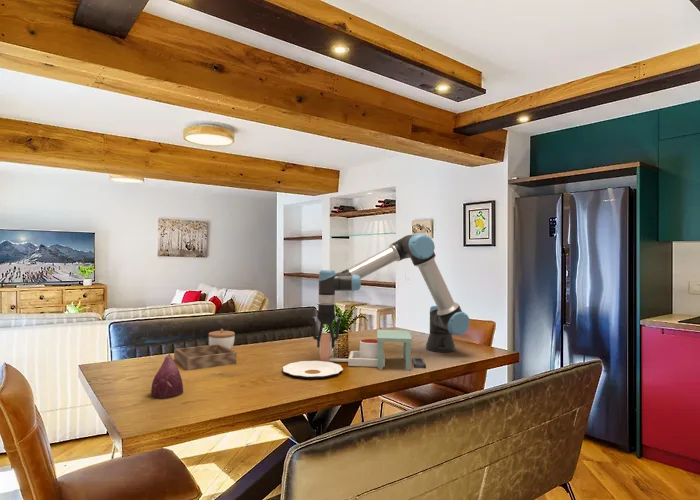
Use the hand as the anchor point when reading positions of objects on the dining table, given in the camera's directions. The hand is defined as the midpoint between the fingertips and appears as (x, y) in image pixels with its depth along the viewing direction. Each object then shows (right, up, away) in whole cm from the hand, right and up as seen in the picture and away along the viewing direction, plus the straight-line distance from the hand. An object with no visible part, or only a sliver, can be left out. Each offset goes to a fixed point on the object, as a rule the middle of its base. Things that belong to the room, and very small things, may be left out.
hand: (325, 354), depth 209 cm
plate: (-5, -4, -18) cm, 19 cm away
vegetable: (-53, -2, -51) cm, 73 cm away
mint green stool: (+31, -4, -2) cm, 31 cm away
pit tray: (+42, -4, -3) cm, 43 cm away
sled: (+12, -3, -1) cm, 13 cm away
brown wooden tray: (-54, -2, -5) cm, 54 cm away
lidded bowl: (-53, -3, +17) cm, 56 cm away
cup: (+20, -4, -1) cm, 21 cm away
